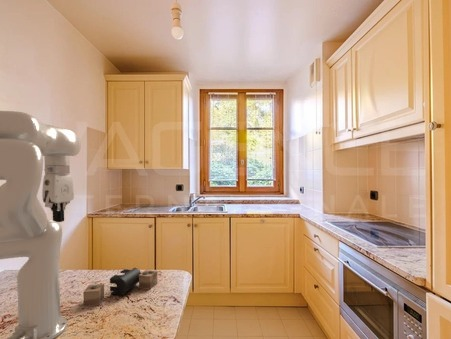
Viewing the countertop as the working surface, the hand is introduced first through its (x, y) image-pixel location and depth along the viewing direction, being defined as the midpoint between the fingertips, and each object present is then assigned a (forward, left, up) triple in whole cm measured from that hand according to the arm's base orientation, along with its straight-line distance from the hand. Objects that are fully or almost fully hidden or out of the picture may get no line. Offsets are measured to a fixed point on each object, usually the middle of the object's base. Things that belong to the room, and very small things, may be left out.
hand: (58, 221), depth 92 cm
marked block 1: (-3, -15, -27) cm, 31 cm away
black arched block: (+6, -22, -27) cm, 36 cm away
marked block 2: (+10, -29, -27) cm, 41 cm away
